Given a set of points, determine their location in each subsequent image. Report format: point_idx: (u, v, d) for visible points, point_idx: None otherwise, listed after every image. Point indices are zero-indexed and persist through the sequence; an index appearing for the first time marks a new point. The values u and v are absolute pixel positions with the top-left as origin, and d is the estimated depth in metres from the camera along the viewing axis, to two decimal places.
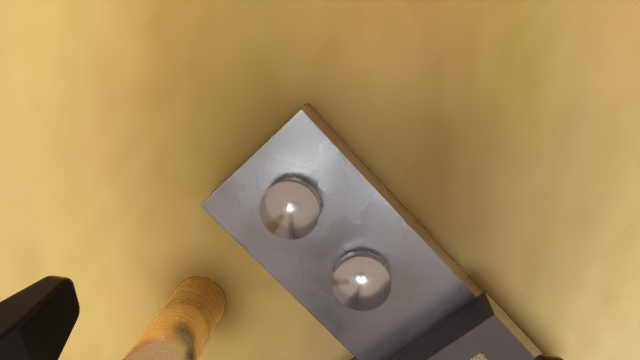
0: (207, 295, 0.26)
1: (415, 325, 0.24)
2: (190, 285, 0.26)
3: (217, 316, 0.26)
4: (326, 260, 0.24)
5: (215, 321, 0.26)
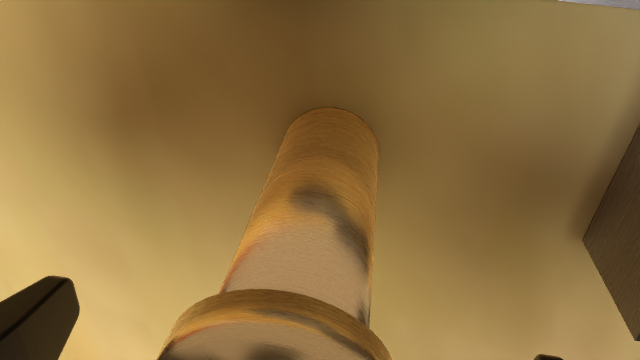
0: (322, 126, 0.13)
1: None
2: (290, 133, 0.14)
3: (365, 148, 0.13)
4: None
5: (366, 156, 0.13)
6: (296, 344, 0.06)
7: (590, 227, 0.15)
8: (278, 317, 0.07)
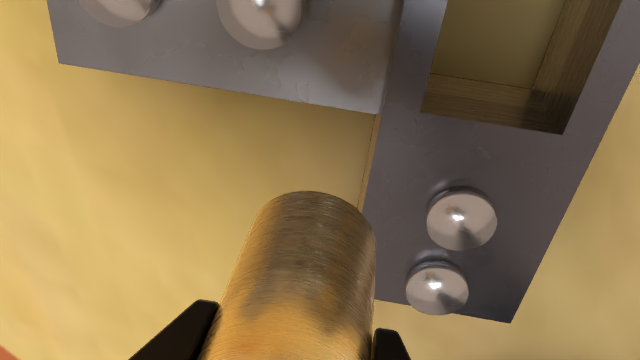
0: (298, 226, 0.09)
1: (378, 11, 0.16)
2: (256, 230, 0.10)
3: (357, 257, 0.09)
4: (215, 16, 0.17)
5: (359, 272, 0.09)
6: None
7: None
8: None
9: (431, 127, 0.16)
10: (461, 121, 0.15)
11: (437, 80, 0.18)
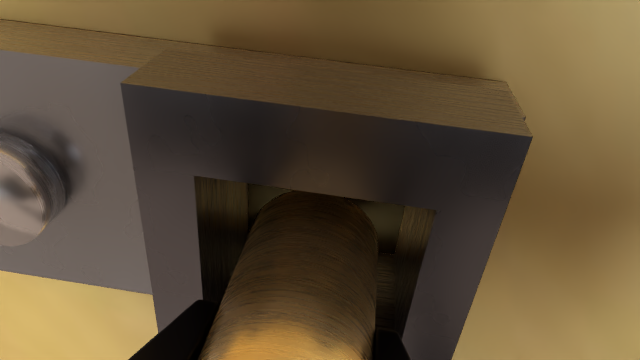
0: (300, 225, 0.09)
1: None
2: (257, 228, 0.10)
3: (360, 256, 0.09)
4: None
5: (361, 271, 0.09)
6: None
7: None
8: None
9: None
10: None
11: None
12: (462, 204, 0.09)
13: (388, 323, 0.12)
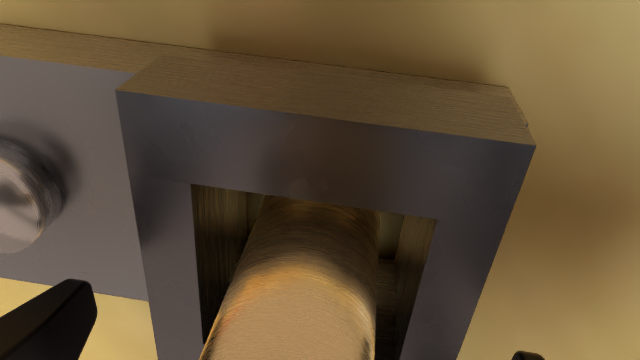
0: None
1: None
2: None
3: None
4: None
5: None
6: None
7: None
8: None
9: None
10: None
11: None
12: (464, 213, 0.08)
13: (388, 331, 0.12)
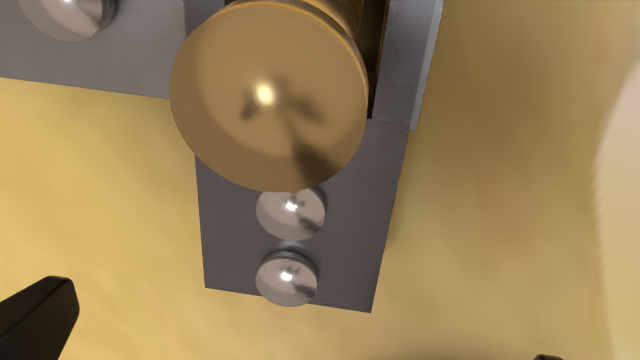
0: None
1: None
2: None
3: None
4: None
5: None
6: (288, 11, 0.09)
7: None
8: (274, 1, 0.09)
9: None
10: None
11: None
12: None
13: (368, 102, 0.16)
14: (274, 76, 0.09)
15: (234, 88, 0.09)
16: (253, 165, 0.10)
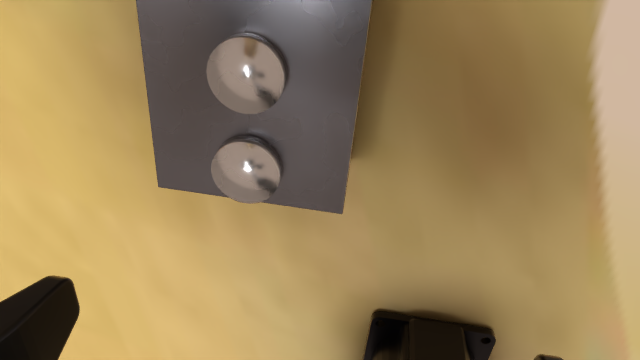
0: None
1: None
2: None
3: None
4: None
5: None
6: None
7: None
8: None
9: None
10: None
11: None
12: None
13: None
14: None
15: None
16: None
